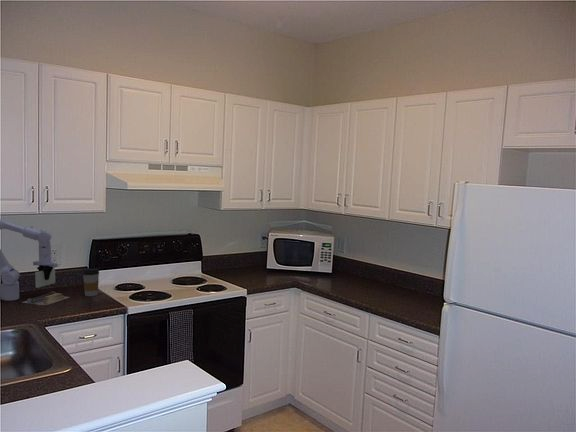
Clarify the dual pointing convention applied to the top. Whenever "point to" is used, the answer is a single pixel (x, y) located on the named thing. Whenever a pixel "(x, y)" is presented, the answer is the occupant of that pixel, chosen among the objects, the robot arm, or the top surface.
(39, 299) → the rack
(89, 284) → the coffee cup
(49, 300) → the offcut lower
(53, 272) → the sheet
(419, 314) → the top surface
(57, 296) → the offcut upper
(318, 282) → the top surface
